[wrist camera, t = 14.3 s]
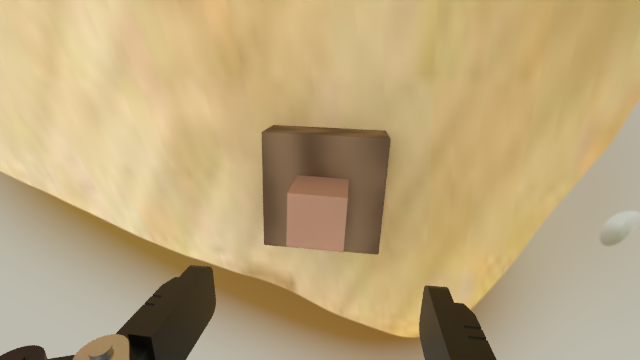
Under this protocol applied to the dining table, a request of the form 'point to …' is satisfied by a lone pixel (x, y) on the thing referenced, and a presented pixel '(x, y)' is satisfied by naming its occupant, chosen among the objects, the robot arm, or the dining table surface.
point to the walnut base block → (332, 162)
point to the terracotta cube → (317, 213)
